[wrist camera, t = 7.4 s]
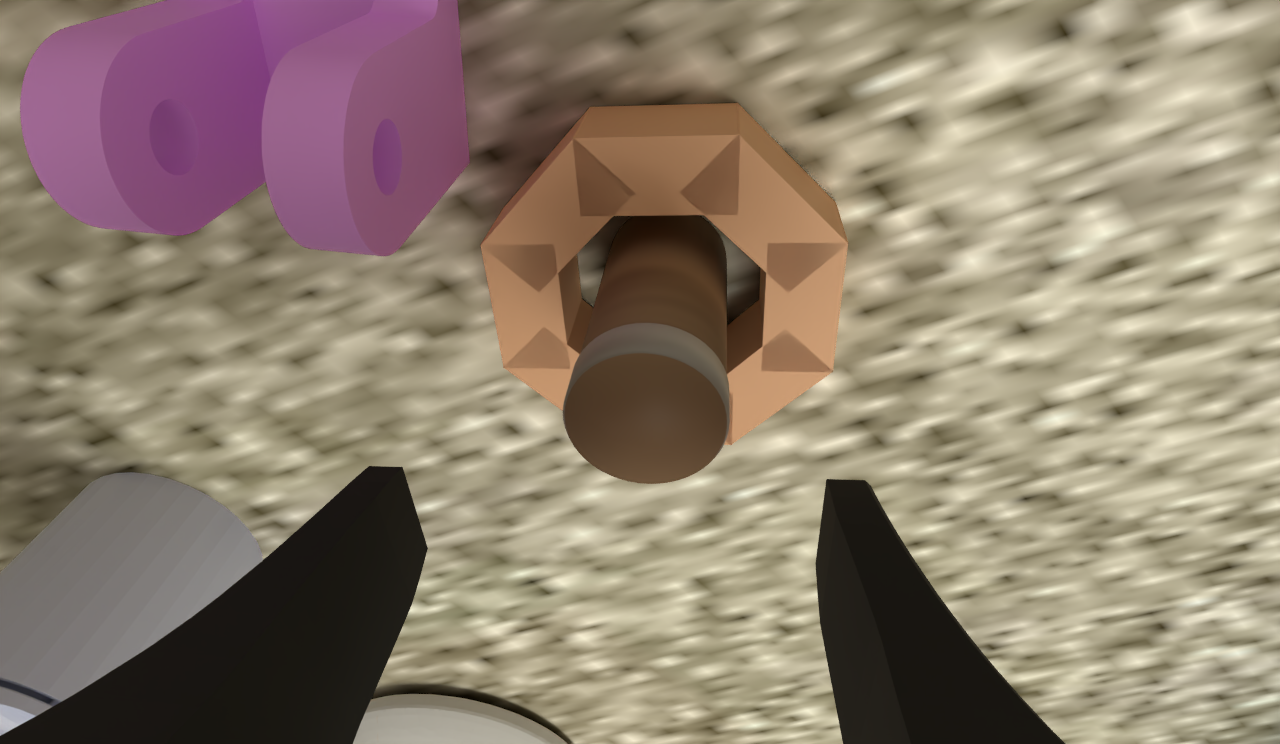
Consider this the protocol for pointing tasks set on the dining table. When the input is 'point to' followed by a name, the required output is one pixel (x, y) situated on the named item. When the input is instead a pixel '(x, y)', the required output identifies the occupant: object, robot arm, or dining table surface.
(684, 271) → the peg
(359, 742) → the candlestick
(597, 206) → the orange flat ring
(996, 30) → the dining table surface
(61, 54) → the bracket
